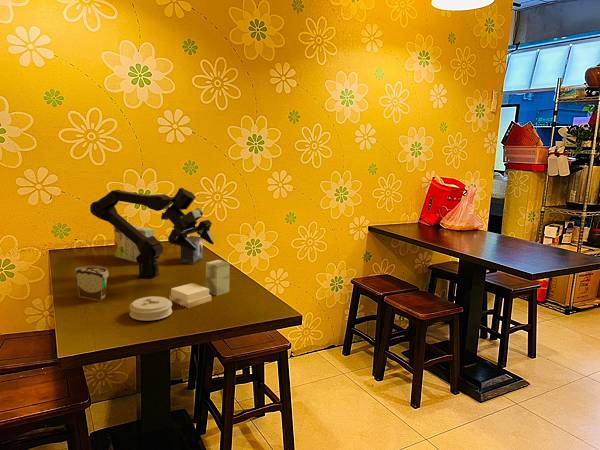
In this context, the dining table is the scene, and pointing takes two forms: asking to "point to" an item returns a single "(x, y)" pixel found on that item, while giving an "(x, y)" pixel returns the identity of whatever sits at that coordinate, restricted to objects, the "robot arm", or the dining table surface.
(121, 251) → the snack box
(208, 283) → the pillar block
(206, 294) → the tower top slab
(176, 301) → the tower base slab
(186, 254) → the small box
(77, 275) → the food container
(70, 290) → the dining table surface
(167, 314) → the lid
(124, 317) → the dining table surface
